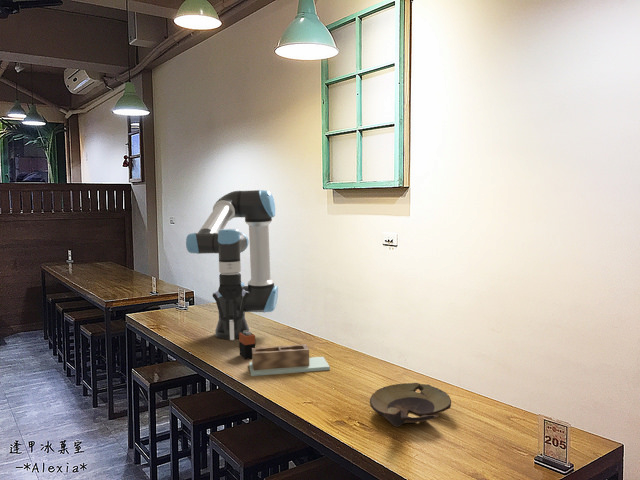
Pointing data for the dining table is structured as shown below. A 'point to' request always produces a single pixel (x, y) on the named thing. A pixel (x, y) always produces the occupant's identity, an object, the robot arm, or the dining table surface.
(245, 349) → the battery
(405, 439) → the dining table surface
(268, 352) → the divided compartment tray
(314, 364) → the board
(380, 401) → the broken dish
